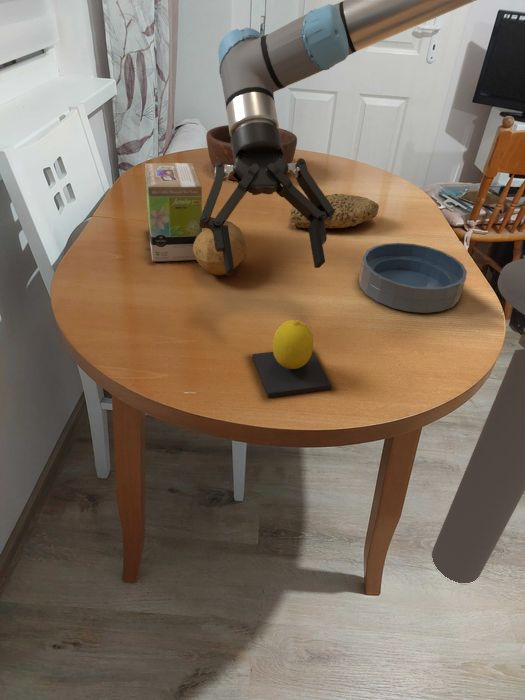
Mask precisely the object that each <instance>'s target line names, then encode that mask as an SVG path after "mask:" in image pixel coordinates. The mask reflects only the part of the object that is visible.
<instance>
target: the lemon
mask: <svg viewBox="0 0 525 700" xmlns="http://www.w3.org/2000/svg"><path fill="white" fill-rule="evenodd" d="M313 350H314V337H313V333H312V331H311V328H310V327H309V326H308V325H307V324H306V323H304V322H302V321H301V320H298V319H291V320H287V321H284V322H282V324H280V326H279V327H278V328H277V329H276V332H275V334H274V336H273V340H272V352H273V353H274V356H275V358H276V360H277V362H278V363H279V364H280V365H282V366H283V367H285V368H288V369H297V368H300V367H302V366H304V365H305V364H306V363H307V362H308V361H309V359H310V357H311V355H312V352H313V353H314V351H313Z"/></svg>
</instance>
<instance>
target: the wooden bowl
mask: <svg viewBox="0 0 525 700" xmlns="http://www.w3.org/2000/svg"><path fill="white" fill-rule="evenodd" d="M278 130H279V132H280V137H281V143H282V149H283V157H284V160H285V161H286V163H287V164H288V163H293V161H294V157H295V154H296V150H297V145H298V138H297V135H295V133H293V132H291V131H289V130H288V129H284V128H280V127H279V128H278ZM205 136H206V137H205V138H206V146H207V152H208V156H209V160H210V163H211V165H212V168H213V169H214V170H215V166H216V162H217V161H222V162H223V163H224V165H234V160H233V153H232V146H231V136H230V133H229V125H228V124H227V125H220V126H216V127H214V128H211V129H210V130H208V131H207V132H206V135H205ZM227 180H232V181H236V182H238V181H237V180H236V179H235V178H234V176H233V174H232V175H229V177H228V179H227Z"/></svg>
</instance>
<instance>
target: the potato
mask: <svg viewBox="0 0 525 700" xmlns="http://www.w3.org/2000/svg"><path fill="white" fill-rule="evenodd" d="M224 225H228V230H229V237H230V244H231V251H232V258H233V264H234V269H235V268H237V267H238V265H239V264H240V263H241V262H242V261H243V260H244V259H245V257H246V255H247V251H248V244H247V240H246V238H245V236H244V233H243V231H242V230H241V228H240V227H239V226H237V225H236V224H235V223H233V222H232V221H228V220H226V222H225V223H224ZM193 253H194V255H195V257H196V259H197V260H196V262H197V263H198V265H199V266H200V267H201V268H202V269H203V270H205V271H206V273H208V274H211V275H214V276H223V275H226V270H225V263H224V257H223V252H217V251H216V249H215V243H214V236H213V233H212V231H211V230H210V229H208V228H204V229H202V232H201V233H200V234H199V235H198V236H197V238H196V240H195V242H194V244H193Z"/></svg>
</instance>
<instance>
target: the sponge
mask: <svg viewBox="0 0 525 700" xmlns="http://www.w3.org/2000/svg"><path fill="white" fill-rule="evenodd" d="M325 197H326V198H327V200H328V201H329V202H330V204H331V205H332V207H333V208H334V210H335V213H334V214H333V215H332V217H331V218H330V219H329V220H328V221H325V222H324V224H325V229H346V228H349V227H350V228H351V227H355V226H357V225H359V224H362V223H366V222H369V221H372V220H373V219H374V218H375V217H377V215H378V214H379V208H380V206H379V203H377V202H375V200H372V199H370V198H368V197H365V196H360V195H354V194H346V193H345V194H344V193H332V194H327V195H325ZM307 199H308V198H307ZM308 200H309V199H308ZM289 216H290V222H291V225H292V227H295V228H305V229H308V226H309V225H310V224H311V222H310V221H309V220H307V219H306V218H305V217H304V216H303V215H302V214H301V213H300V212H299V211H298V210H297V209H296V208H295V207H294V206H292V205H291V207H290V214H289Z"/></svg>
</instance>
